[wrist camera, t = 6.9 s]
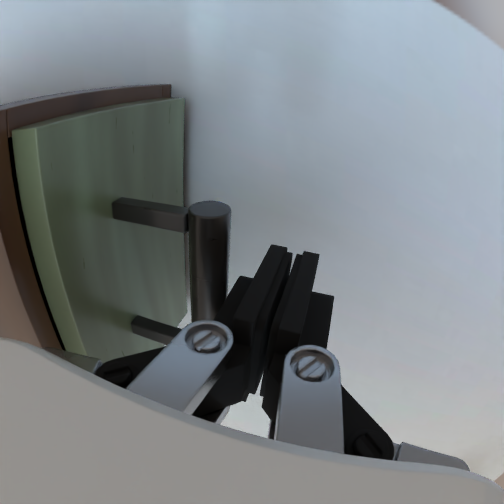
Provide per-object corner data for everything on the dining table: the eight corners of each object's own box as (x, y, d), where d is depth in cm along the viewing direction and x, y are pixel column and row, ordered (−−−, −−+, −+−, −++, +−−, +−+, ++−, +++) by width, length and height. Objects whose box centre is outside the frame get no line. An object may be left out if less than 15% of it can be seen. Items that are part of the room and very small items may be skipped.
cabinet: (171, 84, 13) (-19, 115, 5) (176, 305, 19) (86, 428, 11) (-13, 108, 17) (-112, 146, 9) (10, 249, 23) (-66, 307, 15)
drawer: (276, 103, 12) (178, 125, 5) (254, 329, 17) (199, 453, 11) (-9, 115, 16) (-97, 149, 9) (15, 253, 21) (-52, 304, 15)
